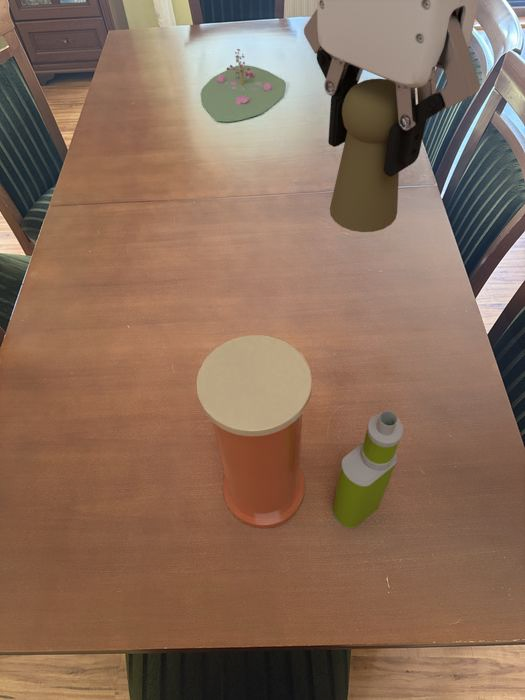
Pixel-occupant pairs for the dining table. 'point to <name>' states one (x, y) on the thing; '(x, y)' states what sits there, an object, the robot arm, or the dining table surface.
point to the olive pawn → (366, 159)
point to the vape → (367, 471)
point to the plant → (241, 92)
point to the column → (258, 424)
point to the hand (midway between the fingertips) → (370, 151)
